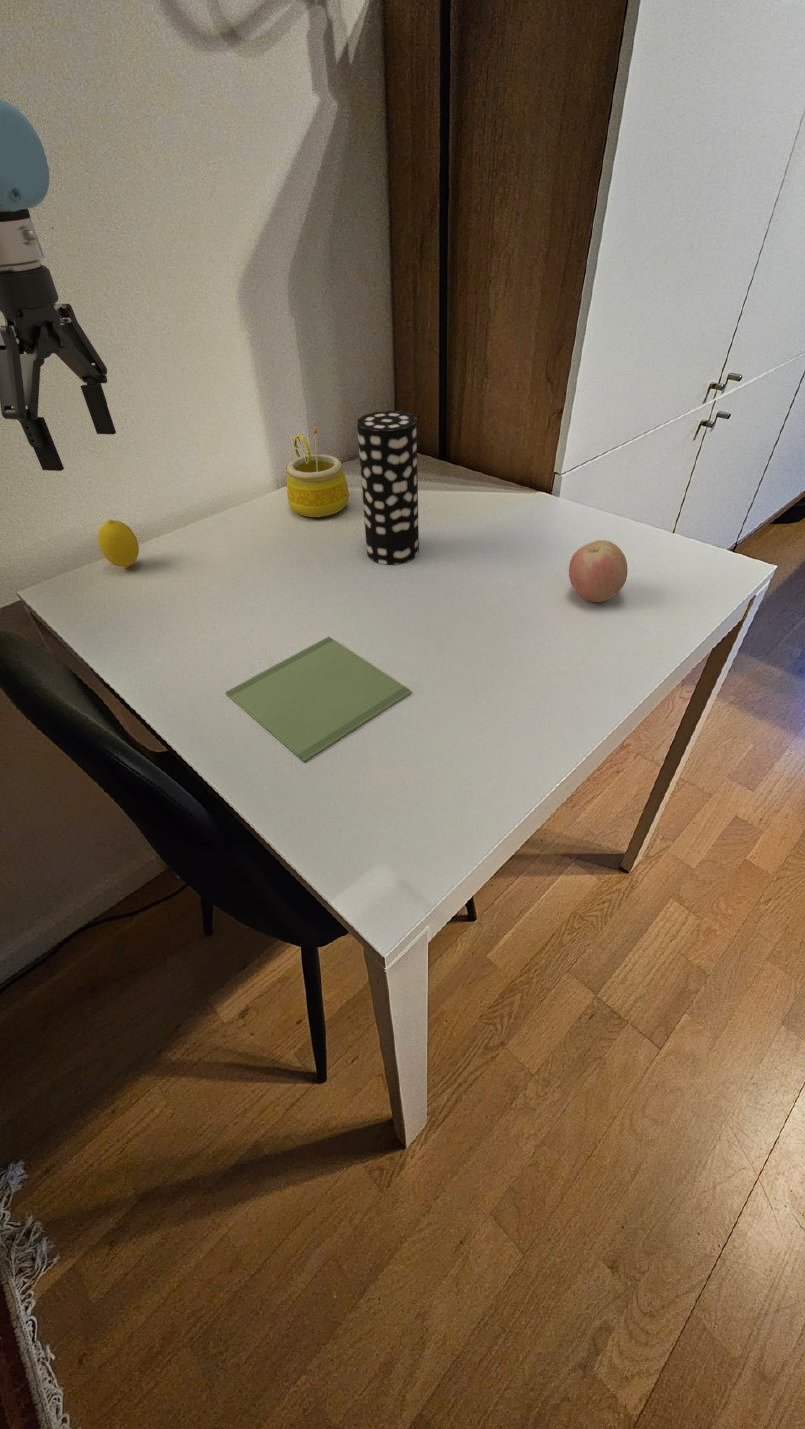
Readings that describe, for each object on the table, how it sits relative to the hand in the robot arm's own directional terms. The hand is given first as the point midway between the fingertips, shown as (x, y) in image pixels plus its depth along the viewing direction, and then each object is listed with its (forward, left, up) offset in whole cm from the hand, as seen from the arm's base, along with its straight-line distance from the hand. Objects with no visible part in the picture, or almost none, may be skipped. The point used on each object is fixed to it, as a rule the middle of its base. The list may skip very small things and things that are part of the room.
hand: (81, 450), depth 88 cm
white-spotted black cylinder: (+39, -17, -18) cm, 47 cm away
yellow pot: (+35, +5, -18) cm, 40 cm away
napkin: (+16, -44, -18) cm, 51 cm away
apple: (+58, -43, -18) cm, 75 cm away
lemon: (0, -1, -18) cm, 18 cm away
